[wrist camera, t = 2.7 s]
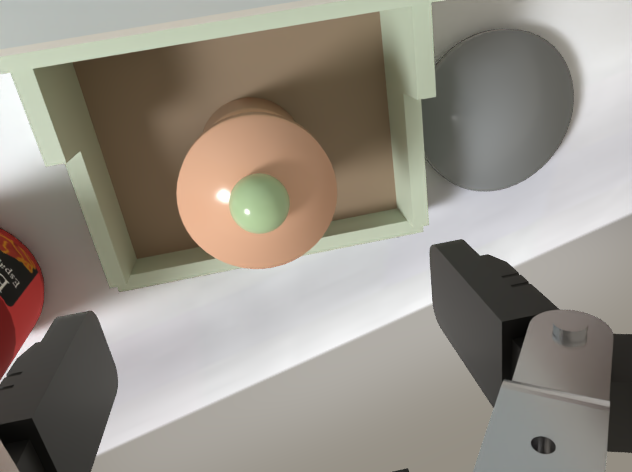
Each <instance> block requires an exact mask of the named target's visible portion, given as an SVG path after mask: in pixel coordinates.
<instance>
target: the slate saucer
mask: <svg viewBox="0 0 632 472" xmlns="http://www.w3.org/2000/svg"><path fill="white" fill-rule="evenodd" d="M435 83H436V97H432V98H427V99H421V106H422V122H423V138H424V154H425V157H426V158H427V160H428V162H429V163H430V164H431V165H432V167H433V168H434V169H435V170H436V171H437V172H438V173H440V174H441V175H442V176H443V177H444V178H446V179H447V180H449V181H450V182H452V183H453V184H455V185H457V186H460V187H462V188H465V189H469V190H474V191H496V190H501V189H505V188H508V187H511V186H513V185H516V184H518V183H520V182H522V181H524V180H526V179H527V178H529V177H530V176H532V175H533V174H535V173H536V172H537V171H538V170H539V169H540V168H542V167H543V166H544V165H545V164H546V163H547V161H548V160H549V159H550V158H551V157H552V156H553V154H554V153H555V152H556V150H557V149H558V147H559V145H560V144H561V142H562V140H563V138H564V136H565V134H566V132H567V129H568V126H569V123H570V120H571V116H572V111H573V102H574V91H573V83H572V78H571V75H570V71H569V69H568V67H567V64H566V62H565V61H564V59H563V57H562V56H561V54H560V53H559V52H558V51H557V49H556V48H555V47H554V46H553V45H551V44H550V43H549V42H548V41H547V40H545V39H543V38H541V37H540V36H538V35H535V34H533V33H530V32H526V31H522V30H510V29H496V30H489V31H485V32H481V33H478V34H476V35H473V36H471V37H469V38H467V39H465V40H463V41H461V42H460V43H458V44H457V45H456V46H454V47H453V48H452V49H451V50H449V51H448V52H447V53H446V54H445V55H444V56H443V57H442V58H441V59H440V61H439V62H438V63H437V64H436V65H435Z"/></svg>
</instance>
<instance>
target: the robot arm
mask: <svg viewBox="0 0 632 472" xmlns="http://www.w3.org/2000/svg"><path fill="white" fill-rule="evenodd" d="M430 270H431V285H432V301H433V307H434V312H435V316H436V319H437V322H438V324H439V326H440V328H441V329H442V331H443V332H444V334H445V335H446V337H447V338H448V340H449V341H450V343H451V344H452V346H453V347H454V349H455V350H456V352H457V353H458V355H459V356H460V358H461V359H462V361H463V362H464V364H465V365H466V367H467V368H468V370H469V372H470V373H471V375H472V376H473V378H474V379H475V381H476V382H477V384H478V385H479V387H480V388H481V390H482V391H483V393H484V394H485V396H486V397H487V399H488V400H489V402H490V403H491V405H492V406H493V408H494V410H493V412H492V416H491V418H490V422H489V425H488V428H487V431H486V434H485V437H484V440H483V443H482V446H481V449H480V452H479V455H478V458H477V461H476V465H475V468H474V471H473V472H605V471H606V456H607V451H610V452H628V453H630V452H631V453H632V334H613V332H612V329H611V328H610V327H609V326H608V325H607V324H606V323H605V322H604V321H602V320H601V319H599V318H597V317H595V316H593V315H590V314H588V313H584V312H579V311H575V310H560V309H558V308H557V307H556V306H555V305H554V304H553V303H552V302H551V301H550V300H548V299H547V298H546V297H545V296H544V295H543V294H542V293H541V292H539V291H538V290H537V289H536V288H535V287H534V286H533V285H531V284H529V283H528V281H527V280H526V279H525V278H524V277H523V276H522V275H519V273H518V272H517V271H516V270H515V269H514V268H513V267H512V266H510V265H509V264H508V263H507V262H505V261H503V260H500V259H498V258H496V257H493V256H491V255H488V254H487V255H482V256H480V255H479V254H478V253H477V252H476V251H474V250H473V249H472V248H471V247H470V246H469V245H468V244H467V243H466V242H465V241H464V240H462V239H460V240H455V241H450V242H445V243H440V244H435V245H432V246H431V247H430ZM117 388H118V377H117V370H116V366H115V363H114V360H113V358H112V355H111V352H110V350H109V347H108V344H107V342H106V339H105V336H104V333H103V331H102V328H101V325H100V323H99V320H98V318H97V316H96V315H95V313H94V312H92V311H87V312H82V313H76V314H71V315H66V316H61V317H57V318H56V319H55V320H54V321H53V323H52V325H51V326H50V328H49V330H48V331H47V333H46V334H45V336H44V338H43V339H42V341H41V342H38V343H35V344H34V345H33V346H31V347H30V348H29V349H28V350H27V351H25V352H24V353H23V354H22V355H21V356H20V357H18V358H17V359H16V361H15V363H14V364H13V366H12V367H11V369H10V370H9V372H8V373H7V377H6V378H4V379H3V381H2V382H1V384H0V472H91V469H92V466H93V463H94V460H95V457H96V454H97V451H98V448H99V445H100V442H101V439H102V436H103V433H104V430H105V427H106V424H107V421H108V418H109V415H110V412H111V409H112V406H113V402H114V399H115V396H116V393H117ZM394 472H409V470H408V469H403V470H398V471H394Z"/></svg>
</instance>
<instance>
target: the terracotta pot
mask: <svg viewBox="0 0 632 472" xmlns="http://www.w3.org/2000/svg"><path fill="white" fill-rule="evenodd" d="M176 194H177V205H178V210H179V214H180V217H181V219H182V222H183V224H184V226H185V228H186V230H187V232H188V233H189V234H190V236H191V237H192V239H193V240H194V241H195V242H196V243H197V244H198V245H199V246H200V247H201V248H202V249H203V250H204V251H206V252H207V253H208V254H210V255H211V256H213V257H214V258H216V259H218V260H220V261H222V262H224V263H227V264H230V265H233V266H237V267H242V268H250V269H264V268H272V267H276V266H280V265H283V264H286V263H289V262H291V261H293V260H295V259H297V258H299V257H301V256H302V255H303V254H305V253H306V252H308V251H309V250H310V249H311V248H312V247H313V246H315V245H316V244H317V242H318V241H319V240H320V239H321V238H322V236H323V235H324V234H325V232H326V231H327V229H328V227H329V225H330V223H331V221H332V218H333V215H334V212H335V208H336V203H337V182H336V177H335V173H334V170H333V167H332V164H331V162H330V160H329V158H328V156H327V154H326V153H325V151H324V150H323V148H322V147H321V145H320V144H319V143H318V141H317V140H316V139H315V138H314V137H313V136H312V135H311V133H310V132H308V131H307V130H306V129H305V128H303V127H302V126H301V125H299V124H297V123H296V122H295V120H294V119H293V118H292V116H291V115H290V114H289V113H288V112H287V111H286V110H285V109H283V108H282V107H281V106H279V105H278V104H276V103H274V102H272V101H269V100H266V99H262V98H256V97H247V98H240V99H236V100H233V101H230V102H228V103H226V104H225V105H223V106H221V107H220V108H219V109H217V110H216V111H215V112H214V113H213V114H212V116H211V117H210V118H209V120H208V121H207V123H206V125H205V127H204V129H203V132H202V134H201V135H200V136H199V137H198V138H197V139H196V140H195V141H194V143H193V144H192V145H191V147H190V149H189V150H188V152H187V154H186V156H185V159H184V161H183V164H182V167H181V169H180V172H179V177H178V181H177V192H176Z"/></svg>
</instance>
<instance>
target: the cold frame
mask: <svg viewBox="0 0 632 472" xmlns="http://www.w3.org/2000/svg"><path fill="white" fill-rule="evenodd" d="M438 1H444V0H345V1H339V2H333V3H327V4H320V5H314V6H308V7H302V8H296V9H290V10H284V11H278V12H272V13H265V14H259V15H253V16H247V17H241V18H235V19H229V20H223V21H216V22H210V23H204V24H198V25H192V26H186V27H180V28H174V29H168V30H161V31H155V32H149V33H143V34H137V35H131V36H125V37H119V38H113V39H106V40H100V41H94V42H88V43H82V44H76V45H70V46H64V47H58V48H51V49H45V50H39V51H33V52H27V53H21V54H15V55H9V56H3V57H0V74H4V73H11V76H12V78H13V81H14V84H15V86H16V89H17V92H18V94H19V97H20V100H21V102H22V105H23V107H24V110H25V113H26V115H27V118H28V121H29V123H30V126H31V129H32V131H33V134H34V137H35V139H36V142H37V144H38V147H39V150H40V152H41V155H42V158H43V160H44V163H45V166H46V167H48V166H54V165H59V164H65V166H66V168H67V171H68V174H69V177H70V179H71V182H72V185H73V188H74V190H75V193H76V196H77V199H78V202H79V204H80V207H81V210H82V213H83V215H84V218H85V221H86V224H87V226H88V229H89V232H90V235H91V237H92V240H93V243H94V246H95V249H96V251H97V254H98V257H99V260H100V262H101V265H102V268H103V271H104V273H105V276H106V279H107V282H108V284H109V287H110V288H114V287H117V288H118V291H119V292H123V291H128V290H133V289H138V288H143V287H148V286H153V285H158V284H163V283H168V282H173V281H178V280H183V279H188V278H193V277H198V276H203V275H208V274H213V273H218V272H224V271H229V270H234V269H239V268H242V267H237V266H233V265H230V264H227V263H224V262H222V261H220V260H218V259H216V258H214V257H213V256H211V255H210V254H208V253H207V252H206V251H204V250H203V249H202V248H201V247H200V246H199V245H198V244H197V243H196V242H195V241H194V240H193V239H192V237H191V236H190V234H189V233H188V232H187V230H186V228H185V226H184V224H183V222H182V219H181V217H180V214H179V210H178V205H177V194H176V192H177V181H178V177H179V172H180V169H181V167H182V164H183V161H184V159H185V156H186V154H187V152H188V150H189V149H190V147H191V145H192V144H193V143H194V141H195V140H196V139H197V138H198V137H199V136H200V135H201V134H202V132H203V129H204V127H205V125H206V123H207V121H208V120H209V118H210V117H211V116H212V114H213V113H214V112H215V111H216V110H217V109H219V108H220V107H221V106H223V105H225V104H226V103H228V102H230V101H233V100H236V99H240V98H247V97H256V98H262V99H266V100H269V101H272V102H274V103H276V104H278V105H279V106H281V107H282V108H283V109H285V110H286V111H287V112H288V113H289V114H290V115H291V116H292V118H293V119H294V120H295V122H296V123H297V124H299V125H301V126H302V127H303V128H305V129H306V130H307V131H308V132H310V133H311V135H312V136H313V137H314V138H315V139H316V140H317V141H318V143H319V144H320V145H321V147H322V148H323V150H324V151H325V153H326V154H327V156H328V158H329V160H330V162H331V164H332V167H333V170H334V173H335V177H336V182H337V203H336V208H335V212H334V215H333V218H332V221H331V223H330V225H329V227H328V229H327V231H326V232H325V234H324V235H323V236H322V238H321V239H320V240H319V241H318V242H317V244H316V245H315V246H313V247H312V248H311V249H310V250H309V251H308V252H306V253H305V254H303V255H302V256H304V255H309V254H314V253H319V252H324V251H329V250H334V249H339V248H344V247H349V246H354V245H359V244H364V243H369V242H374V241H380V240H385V239H390V238H395V237H400V236H405V235H410V234H415V233H420V232H423V226H427V225H429V218H428V202H427V186H426V170H425V154H424V138H423V122H422V106H421V99H427V98H432V97H436V83H435V63H434V43H433V24H432V4H431V3H432V2H438Z"/></svg>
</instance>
